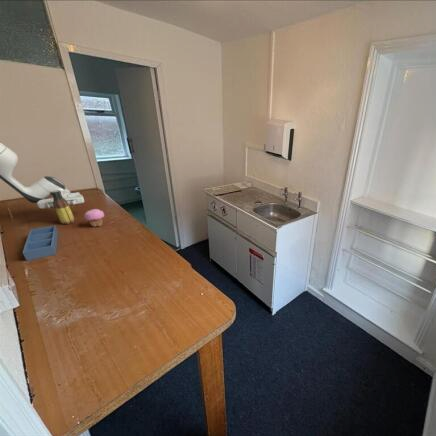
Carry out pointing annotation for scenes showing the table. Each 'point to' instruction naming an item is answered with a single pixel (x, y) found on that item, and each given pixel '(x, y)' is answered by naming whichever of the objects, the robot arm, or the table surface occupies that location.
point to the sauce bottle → (62, 208)
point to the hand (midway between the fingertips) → (61, 205)
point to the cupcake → (94, 217)
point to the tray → (41, 243)
